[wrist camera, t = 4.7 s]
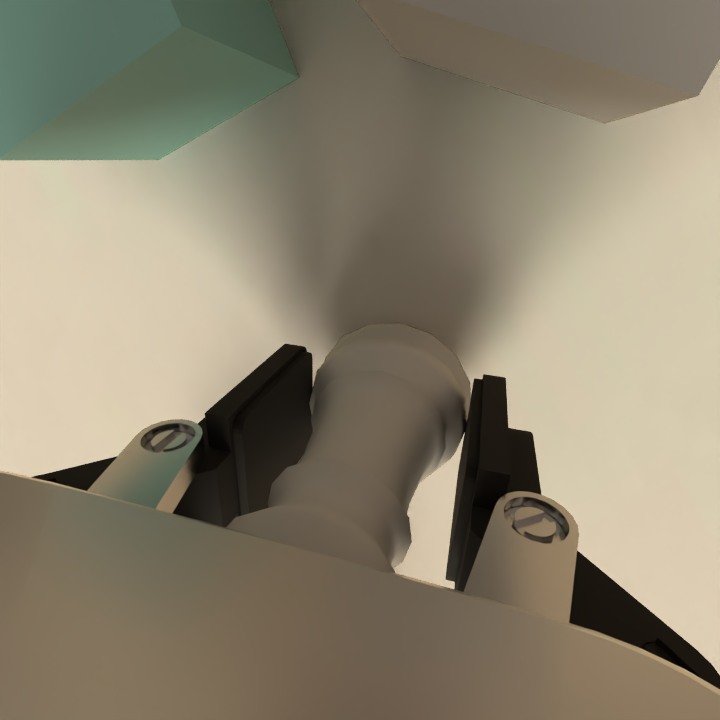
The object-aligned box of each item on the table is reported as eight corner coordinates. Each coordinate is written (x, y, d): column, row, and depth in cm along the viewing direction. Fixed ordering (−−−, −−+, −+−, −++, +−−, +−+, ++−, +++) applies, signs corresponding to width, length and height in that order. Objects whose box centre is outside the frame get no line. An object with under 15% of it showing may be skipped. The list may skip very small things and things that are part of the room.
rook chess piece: (304, 335, 13) (86, 533, 6) (451, 299, 11) (382, 514, 4) (351, 458, 14) (217, 735, 7) (488, 441, 13) (481, 777, 6)
